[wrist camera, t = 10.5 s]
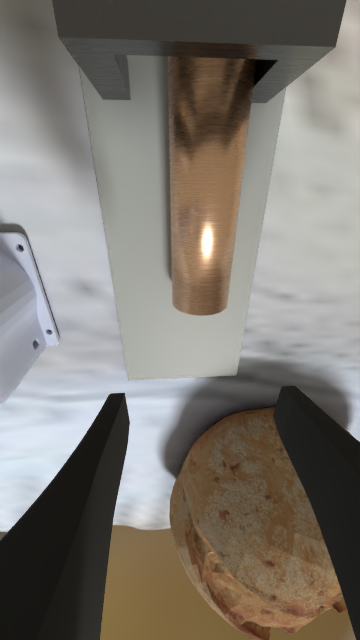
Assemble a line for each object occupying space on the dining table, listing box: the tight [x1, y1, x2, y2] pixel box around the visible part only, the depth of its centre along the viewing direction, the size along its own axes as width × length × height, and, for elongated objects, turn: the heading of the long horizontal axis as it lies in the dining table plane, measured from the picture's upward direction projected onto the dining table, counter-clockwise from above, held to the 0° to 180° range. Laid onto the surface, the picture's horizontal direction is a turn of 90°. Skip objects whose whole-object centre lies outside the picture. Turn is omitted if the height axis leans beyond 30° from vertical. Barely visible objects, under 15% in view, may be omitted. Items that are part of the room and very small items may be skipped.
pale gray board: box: [79, 55, 286, 380], centre depth 16 cm, size 29×11×1 cm, turn 0°
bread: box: [170, 406, 351, 640], centre depth 27 cm, size 26×23×15 cm
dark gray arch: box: [52, 0, 346, 103], centre depth 10 cm, size 2×9×6 cm, turn 90°
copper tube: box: [168, 56, 257, 316], centre depth 12 cm, size 18×4×4 cm
